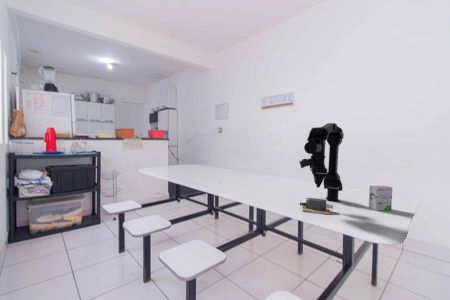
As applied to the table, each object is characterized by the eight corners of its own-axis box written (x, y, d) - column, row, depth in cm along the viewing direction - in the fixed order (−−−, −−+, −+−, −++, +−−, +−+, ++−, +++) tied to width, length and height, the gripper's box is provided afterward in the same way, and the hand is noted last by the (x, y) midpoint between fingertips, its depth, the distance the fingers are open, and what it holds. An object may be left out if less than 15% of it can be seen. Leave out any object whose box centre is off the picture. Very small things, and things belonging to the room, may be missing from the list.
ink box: (383, 207, 110) (384, 184, 110) (392, 210, 105) (393, 186, 105) (368, 207, 109) (369, 184, 109) (375, 210, 104) (376, 186, 104)
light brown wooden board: (302, 205, 110) (302, 204, 110) (327, 208, 106) (327, 207, 106) (302, 211, 101) (302, 210, 101) (330, 214, 97) (330, 213, 97)
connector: (299, 205, 108) (300, 197, 108) (331, 209, 103) (332, 200, 103) (299, 208, 104) (300, 198, 104) (333, 211, 99) (333, 202, 99)
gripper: (300, 152, 114) (299, 181, 115) (301, 153, 96) (299, 188, 97) (322, 152, 111) (321, 182, 111) (328, 154, 93) (326, 190, 94)
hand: (317, 185), depth 103 cm, fingers open, 9 cm apart
